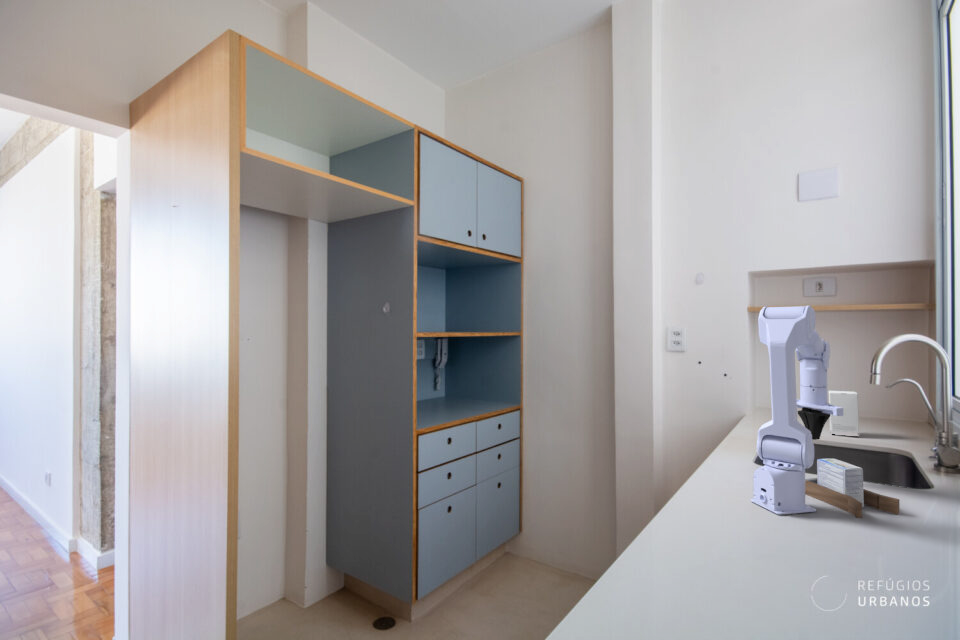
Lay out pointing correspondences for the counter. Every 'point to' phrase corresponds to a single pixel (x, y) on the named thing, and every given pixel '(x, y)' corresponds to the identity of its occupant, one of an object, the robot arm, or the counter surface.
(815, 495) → the guide channel
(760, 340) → the robot arm
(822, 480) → the medicine box
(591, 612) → the counter surface
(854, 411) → the skincare box
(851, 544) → the counter surface
